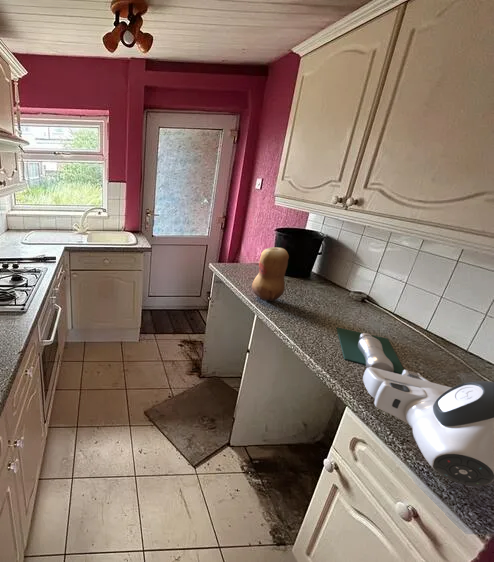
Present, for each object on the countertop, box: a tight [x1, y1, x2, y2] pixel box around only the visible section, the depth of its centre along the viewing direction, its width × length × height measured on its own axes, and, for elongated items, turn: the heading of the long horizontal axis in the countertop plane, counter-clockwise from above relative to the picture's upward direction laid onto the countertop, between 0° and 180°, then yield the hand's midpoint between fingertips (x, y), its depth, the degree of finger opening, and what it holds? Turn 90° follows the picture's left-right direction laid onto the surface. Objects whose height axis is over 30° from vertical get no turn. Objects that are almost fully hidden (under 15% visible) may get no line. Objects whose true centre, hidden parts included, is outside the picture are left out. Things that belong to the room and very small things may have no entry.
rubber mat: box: [336, 326, 405, 375], centre depth 109 cm, size 24×16×1 cm, turn 152°
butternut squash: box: [251, 246, 290, 302], centre depth 142 cm, size 14×13×25 cm
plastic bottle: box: [358, 332, 394, 373], centre depth 100 cm, size 6×7×20 cm
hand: (410, 373), depth 76 cm, fingers closed
